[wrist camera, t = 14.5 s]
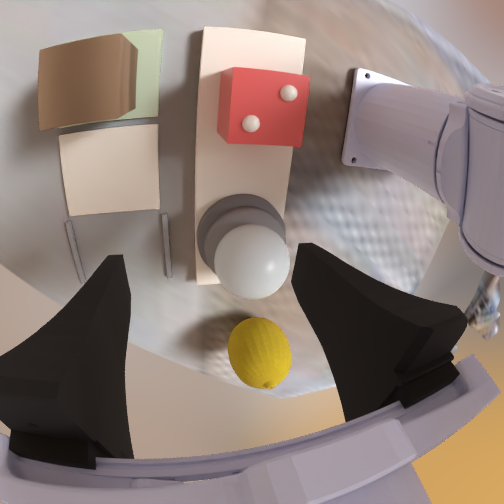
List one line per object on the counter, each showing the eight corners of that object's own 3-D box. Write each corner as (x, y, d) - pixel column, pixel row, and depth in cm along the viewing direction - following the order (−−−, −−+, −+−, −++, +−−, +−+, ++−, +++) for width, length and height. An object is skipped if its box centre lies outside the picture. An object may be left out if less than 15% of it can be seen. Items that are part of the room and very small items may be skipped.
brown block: (138, 49, 13) (121, 33, 8) (135, 108, 15) (117, 118, 10) (78, 58, 12) (39, 50, 7) (77, 115, 14) (39, 131, 9)
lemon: (216, 308, 26) (233, 380, 20) (273, 294, 27) (304, 360, 21) (226, 343, 29) (243, 408, 23) (276, 330, 30) (302, 392, 24)
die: (283, 76, 16) (314, 76, 12) (277, 134, 18) (304, 149, 14) (221, 71, 15) (235, 66, 11) (216, 131, 17) (229, 145, 13)
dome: (286, 205, 20) (316, 240, 16) (276, 271, 23) (298, 313, 19) (204, 207, 18) (214, 246, 14) (204, 277, 21) (213, 324, 17)
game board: (299, 40, 15) (312, 37, 14) (270, 271, 25) (277, 285, 24) (54, 46, 11) (42, 43, 9) (83, 284, 21) (78, 300, 20)
